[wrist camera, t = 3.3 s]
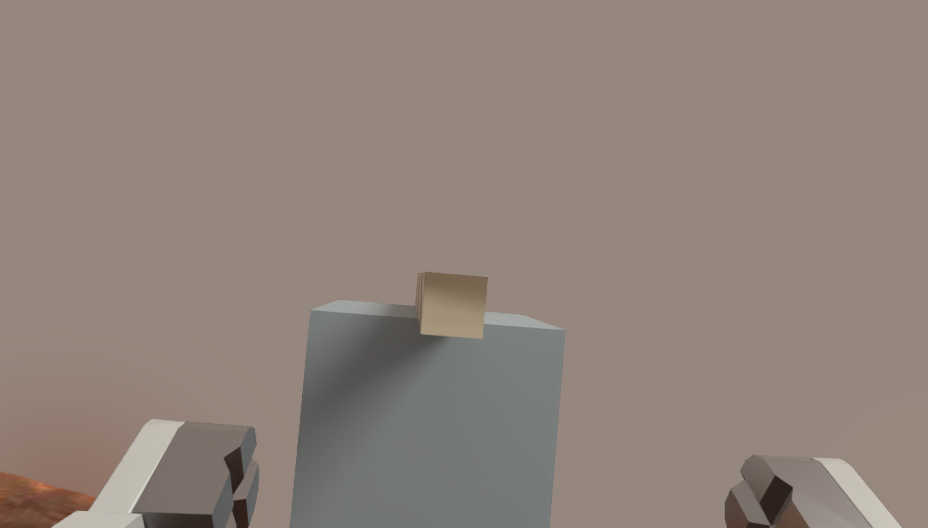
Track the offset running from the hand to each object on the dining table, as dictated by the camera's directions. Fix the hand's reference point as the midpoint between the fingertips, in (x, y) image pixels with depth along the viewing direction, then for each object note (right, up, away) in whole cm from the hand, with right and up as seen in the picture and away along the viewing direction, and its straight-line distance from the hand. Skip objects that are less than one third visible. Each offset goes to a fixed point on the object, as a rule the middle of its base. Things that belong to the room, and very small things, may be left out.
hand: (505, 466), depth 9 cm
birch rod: (-2, 0, +25) cm, 25 cm away
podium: (-5, -26, +26) cm, 37 cm away
